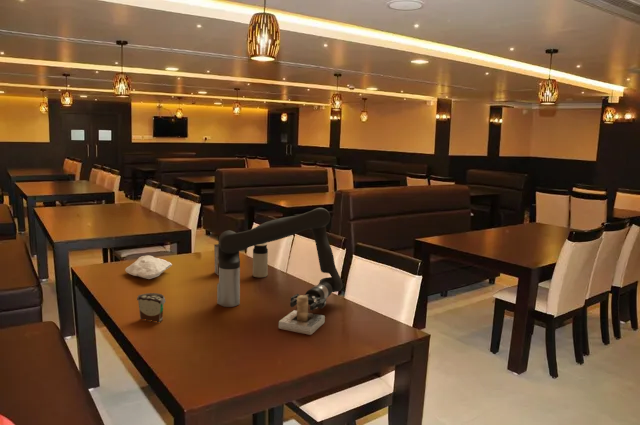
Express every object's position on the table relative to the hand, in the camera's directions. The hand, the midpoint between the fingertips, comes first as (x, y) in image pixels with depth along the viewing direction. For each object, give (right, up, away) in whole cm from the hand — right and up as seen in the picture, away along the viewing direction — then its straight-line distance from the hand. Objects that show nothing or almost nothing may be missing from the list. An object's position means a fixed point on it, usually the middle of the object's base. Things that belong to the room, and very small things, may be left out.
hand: (301, 306), depth 191 cm
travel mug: (-25, +3, +70) cm, 74 cm away
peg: (0, -8, +3) cm, 9 cm away
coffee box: (-46, +4, +73) cm, 86 cm away
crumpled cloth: (-83, +4, +65) cm, 106 cm away
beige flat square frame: (0, -8, +3) cm, 9 cm away
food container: (-60, -6, +5) cm, 61 cm away
